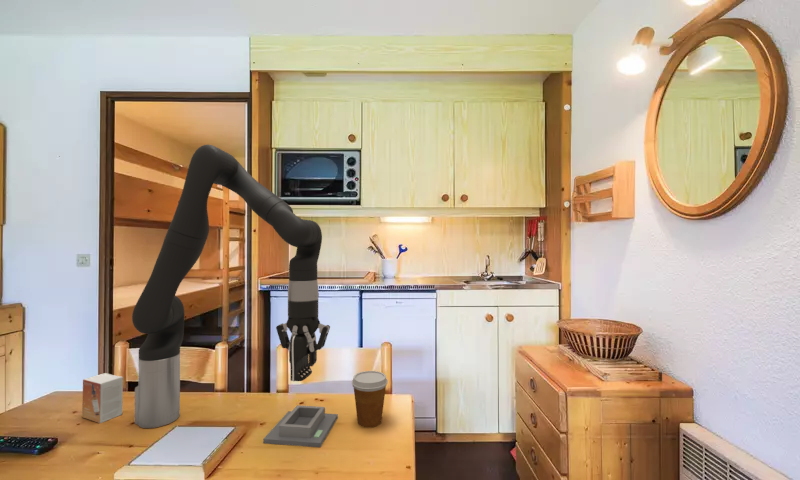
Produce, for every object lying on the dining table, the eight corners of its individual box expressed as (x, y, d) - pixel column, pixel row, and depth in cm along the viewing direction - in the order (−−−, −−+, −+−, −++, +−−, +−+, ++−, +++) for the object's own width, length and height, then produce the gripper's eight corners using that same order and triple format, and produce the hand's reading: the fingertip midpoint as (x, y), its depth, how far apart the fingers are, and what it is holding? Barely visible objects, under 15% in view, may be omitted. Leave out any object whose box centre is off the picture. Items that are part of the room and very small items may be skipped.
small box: (81, 418, 96) (81, 379, 96) (105, 409, 102) (105, 372, 102) (99, 423, 93) (100, 383, 93) (123, 414, 99) (123, 376, 99)
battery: (303, 383, 87) (303, 336, 87) (289, 382, 88) (289, 335, 88) (316, 373, 94) (316, 329, 94) (303, 372, 95) (302, 329, 95)
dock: (263, 443, 85) (263, 428, 85) (288, 414, 99) (288, 402, 99) (320, 447, 83) (320, 432, 83) (337, 417, 97) (337, 404, 97)
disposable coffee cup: (344, 422, 95) (344, 376, 95) (370, 409, 102) (370, 367, 102) (368, 435, 88) (368, 386, 88) (394, 421, 95) (395, 376, 95)
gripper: (269, 299, 88) (269, 369, 88) (325, 300, 86) (325, 371, 86) (283, 295, 96) (282, 359, 95) (334, 296, 94) (334, 361, 94)
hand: (303, 364), depth 91 cm, fingers closed on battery, 4 cm apart
